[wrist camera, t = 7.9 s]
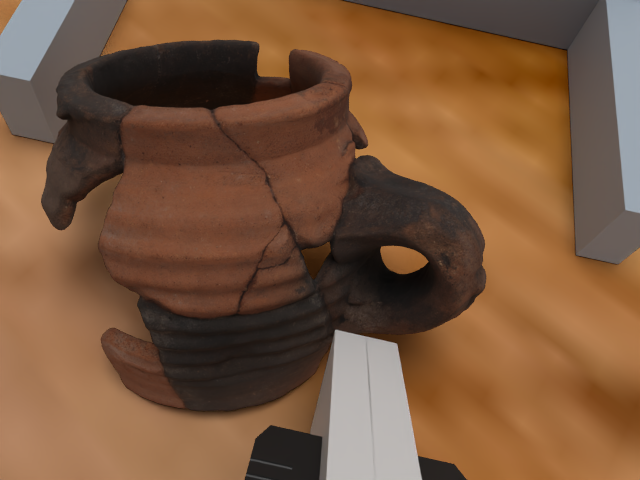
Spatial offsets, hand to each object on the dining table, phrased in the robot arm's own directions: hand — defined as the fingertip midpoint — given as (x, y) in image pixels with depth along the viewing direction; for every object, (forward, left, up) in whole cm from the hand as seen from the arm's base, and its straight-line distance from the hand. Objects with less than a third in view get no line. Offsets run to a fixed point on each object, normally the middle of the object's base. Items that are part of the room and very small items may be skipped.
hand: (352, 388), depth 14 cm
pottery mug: (-4, +3, -3) cm, 6 cm away
